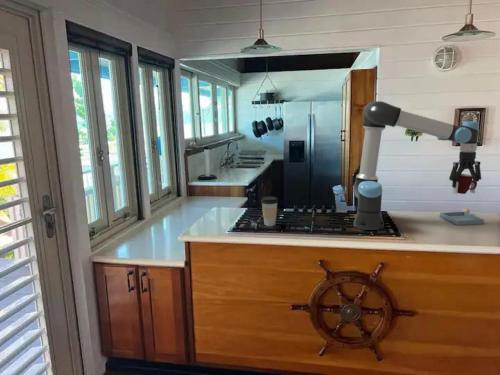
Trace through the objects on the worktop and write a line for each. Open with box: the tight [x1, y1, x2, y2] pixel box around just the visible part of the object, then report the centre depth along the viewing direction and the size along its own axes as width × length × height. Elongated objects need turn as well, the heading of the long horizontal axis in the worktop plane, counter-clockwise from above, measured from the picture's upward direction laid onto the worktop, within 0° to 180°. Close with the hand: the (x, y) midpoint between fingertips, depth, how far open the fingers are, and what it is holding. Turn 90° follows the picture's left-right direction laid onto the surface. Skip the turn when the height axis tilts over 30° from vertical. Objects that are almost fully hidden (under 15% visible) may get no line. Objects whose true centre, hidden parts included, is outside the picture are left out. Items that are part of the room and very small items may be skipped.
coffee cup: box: [260, 196, 279, 227], centre depth 204 cm, size 9×9×15 cm
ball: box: [462, 208, 471, 214], centre depth 215 cm, size 4×4×4 cm
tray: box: [439, 210, 485, 226], centre depth 205 cm, size 15×16×2 cm
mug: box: [457, 173, 478, 195], centre depth 200 cm, size 10×8×10 cm
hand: (463, 193), depth 201 cm, fingers closed on mug, 9 cm apart
